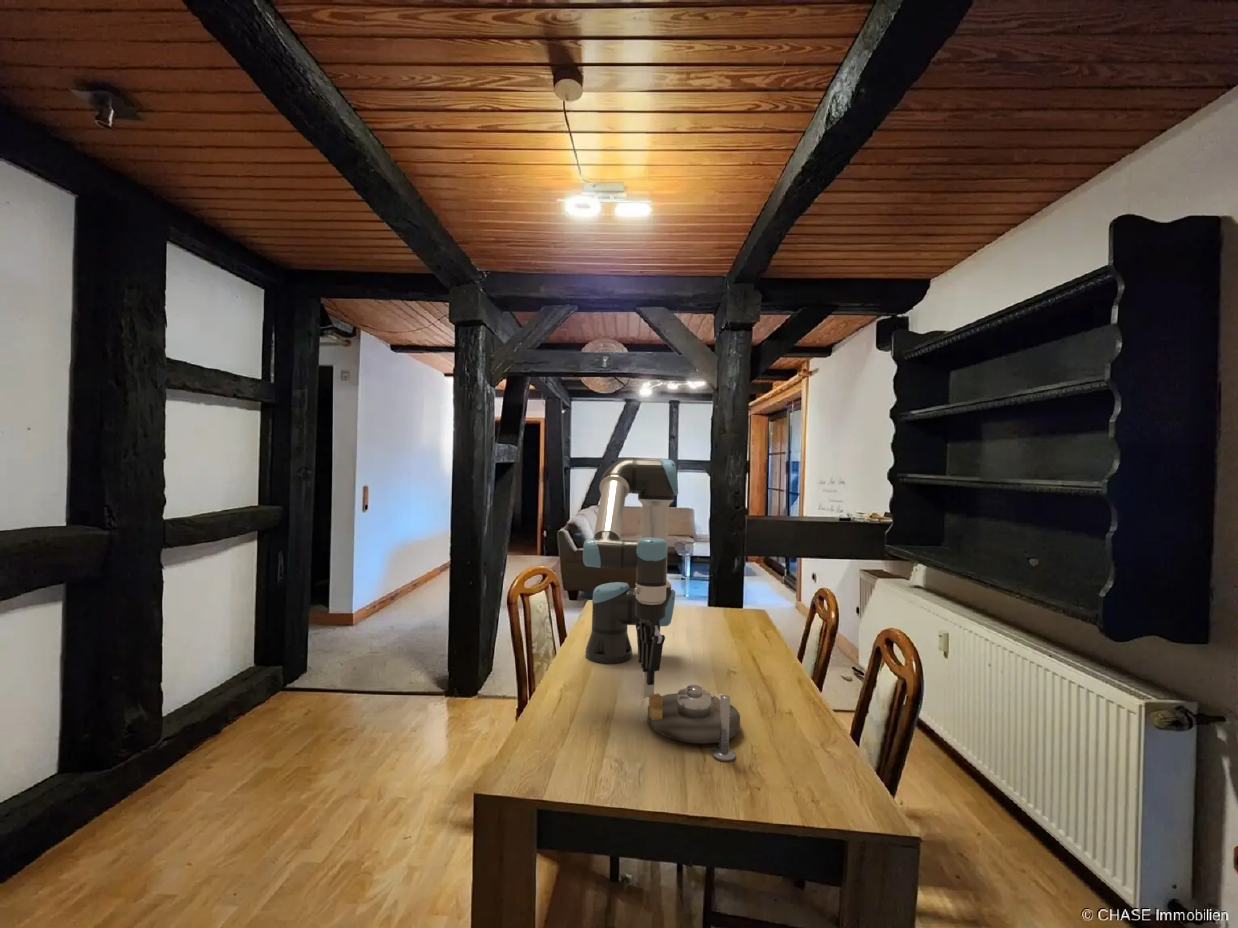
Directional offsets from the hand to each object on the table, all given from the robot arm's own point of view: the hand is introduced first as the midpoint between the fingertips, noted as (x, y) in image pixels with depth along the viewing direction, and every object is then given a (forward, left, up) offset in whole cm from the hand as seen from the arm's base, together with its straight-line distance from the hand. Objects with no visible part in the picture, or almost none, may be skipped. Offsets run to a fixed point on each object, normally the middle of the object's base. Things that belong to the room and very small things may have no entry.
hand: (647, 695), depth 138 cm
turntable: (+8, +8, -4) cm, 12 cm away
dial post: (+22, +9, -5) cm, 24 cm away
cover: (+8, +9, -2) cm, 12 cm away
